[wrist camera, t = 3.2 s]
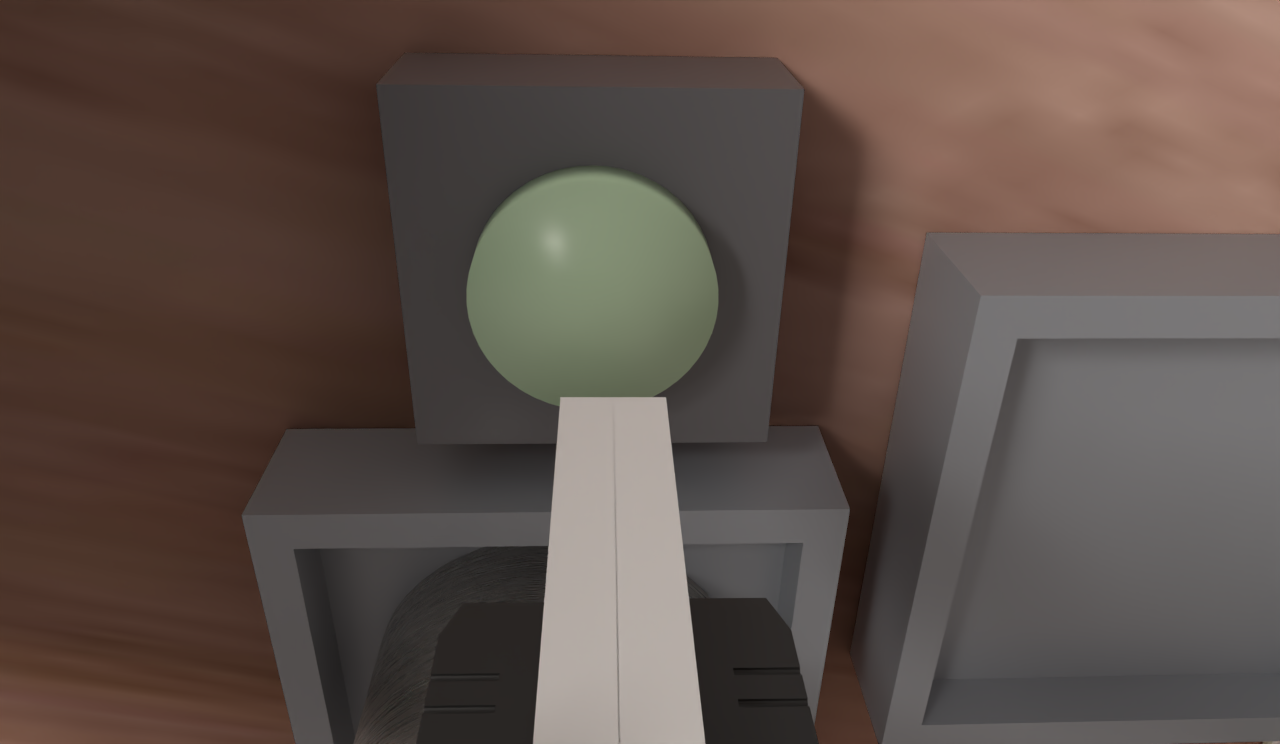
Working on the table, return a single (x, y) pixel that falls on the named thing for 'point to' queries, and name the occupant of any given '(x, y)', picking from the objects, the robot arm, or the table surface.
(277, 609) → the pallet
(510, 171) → the button
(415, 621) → the steel tin
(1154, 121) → the table surface
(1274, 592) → the tray
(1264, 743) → the coffee can
